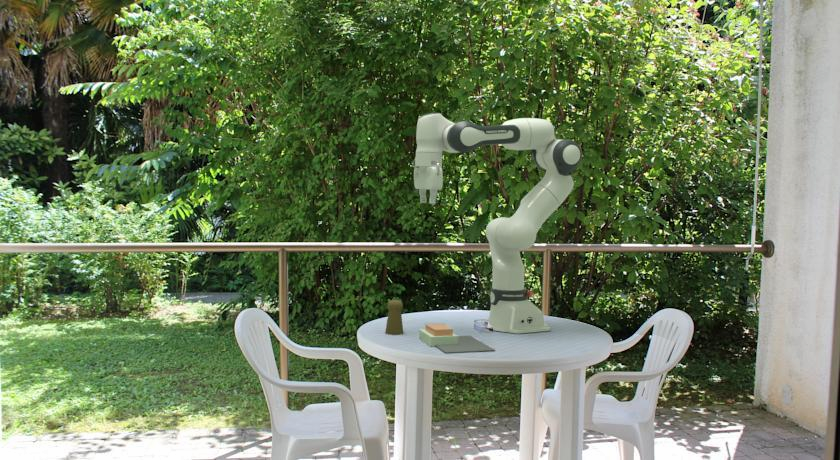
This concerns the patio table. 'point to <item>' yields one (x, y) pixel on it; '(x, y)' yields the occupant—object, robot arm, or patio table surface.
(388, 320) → the cork
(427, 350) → the patio table surface
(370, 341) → the patio table surface
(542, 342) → the patio table surface
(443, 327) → the block
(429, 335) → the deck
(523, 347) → the patio table surface
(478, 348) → the mat
